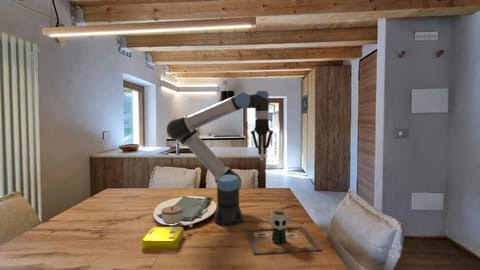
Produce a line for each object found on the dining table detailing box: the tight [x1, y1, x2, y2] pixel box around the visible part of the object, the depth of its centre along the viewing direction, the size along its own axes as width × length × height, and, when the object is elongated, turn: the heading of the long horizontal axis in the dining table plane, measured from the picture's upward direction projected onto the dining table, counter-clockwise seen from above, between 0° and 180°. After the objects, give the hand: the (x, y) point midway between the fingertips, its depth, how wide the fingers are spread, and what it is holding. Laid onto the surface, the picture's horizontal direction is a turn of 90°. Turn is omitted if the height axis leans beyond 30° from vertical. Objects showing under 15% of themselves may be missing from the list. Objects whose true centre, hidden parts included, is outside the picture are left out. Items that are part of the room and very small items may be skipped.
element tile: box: [141, 226, 185, 251], centre depth 123 cm, size 15×15×5 cm
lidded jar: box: [161, 205, 184, 225], centre depth 143 cm, size 11×11×9 cm
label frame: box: [245, 225, 323, 256], centre depth 124 cm, size 28×25×1 cm
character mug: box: [266, 209, 292, 244], centre depth 122 cm, size 11×7×13 cm, turn 96°
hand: (261, 160), depth 158 cm, fingers closed
